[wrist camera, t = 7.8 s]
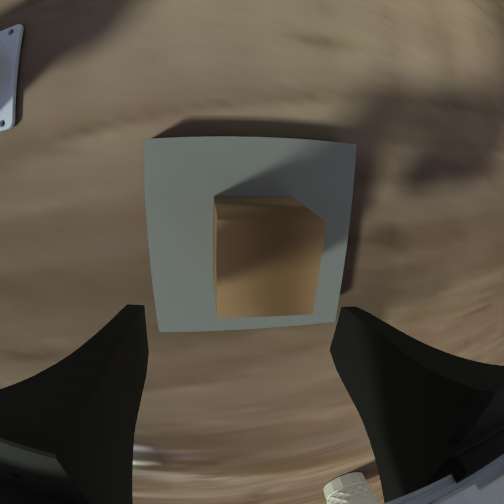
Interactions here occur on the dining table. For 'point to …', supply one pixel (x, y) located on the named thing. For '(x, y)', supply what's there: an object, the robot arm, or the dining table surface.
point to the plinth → (237, 184)
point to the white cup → (349, 490)
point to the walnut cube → (265, 256)
